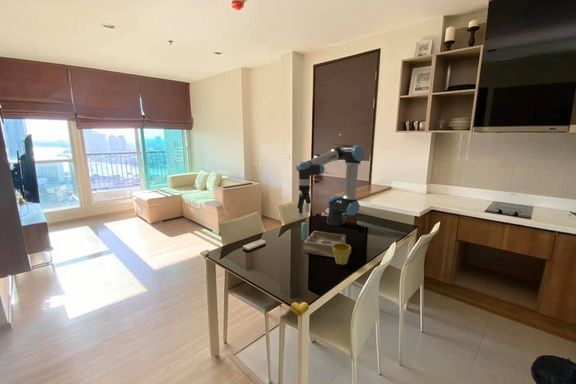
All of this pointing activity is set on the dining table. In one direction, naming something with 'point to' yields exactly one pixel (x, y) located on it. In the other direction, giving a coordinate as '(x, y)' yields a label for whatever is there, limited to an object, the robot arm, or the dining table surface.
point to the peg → (303, 231)
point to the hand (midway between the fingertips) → (304, 214)
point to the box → (323, 243)
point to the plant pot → (341, 253)
